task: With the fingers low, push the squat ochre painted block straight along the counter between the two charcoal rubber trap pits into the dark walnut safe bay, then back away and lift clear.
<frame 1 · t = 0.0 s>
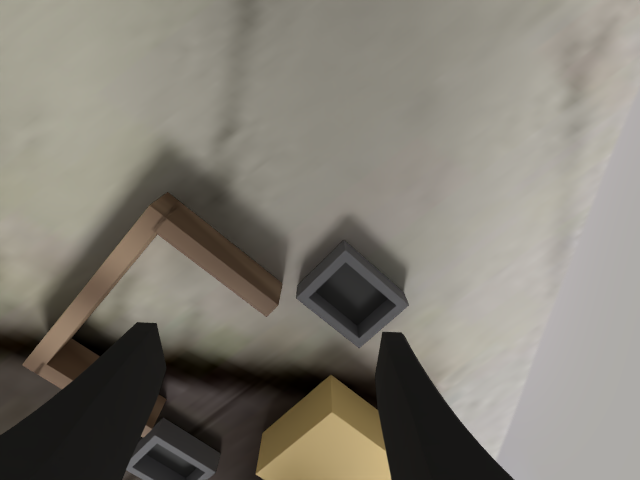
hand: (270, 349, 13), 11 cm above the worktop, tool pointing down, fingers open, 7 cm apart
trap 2: (350, 288, 24), on the worktop
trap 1: (176, 451, 29), on the worktop
safe bay: (167, 315, 25), on the worktop
block: (332, 427, 29), on the worktop
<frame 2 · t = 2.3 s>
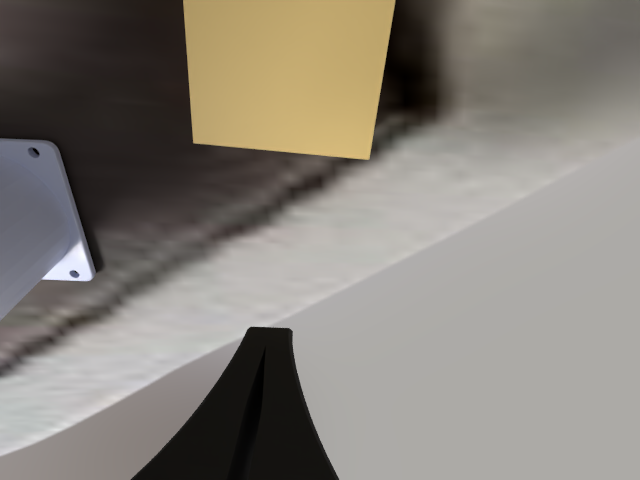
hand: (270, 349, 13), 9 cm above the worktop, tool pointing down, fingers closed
block: (292, 45, 17), on the worktop
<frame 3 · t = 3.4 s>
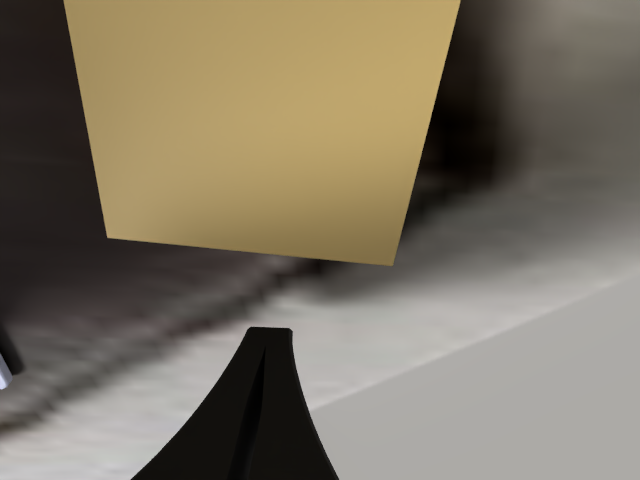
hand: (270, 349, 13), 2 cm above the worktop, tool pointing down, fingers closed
block: (275, 77, 11), on the worktop
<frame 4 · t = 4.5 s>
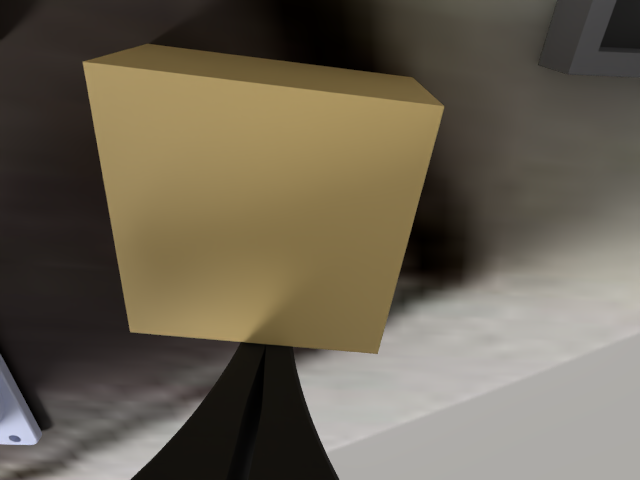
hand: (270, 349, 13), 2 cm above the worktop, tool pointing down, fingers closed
block: (275, 180, 13), on the worktop, touching gripper
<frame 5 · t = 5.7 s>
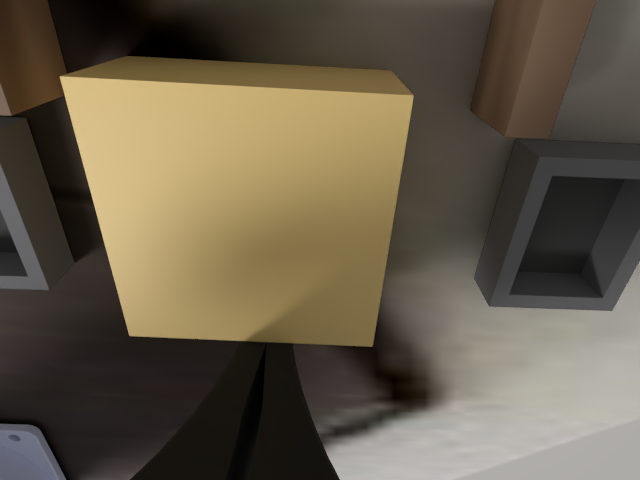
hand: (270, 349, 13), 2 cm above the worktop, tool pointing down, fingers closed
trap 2: (554, 218, 13), on the worktop
block: (264, 180, 13), on the worktop
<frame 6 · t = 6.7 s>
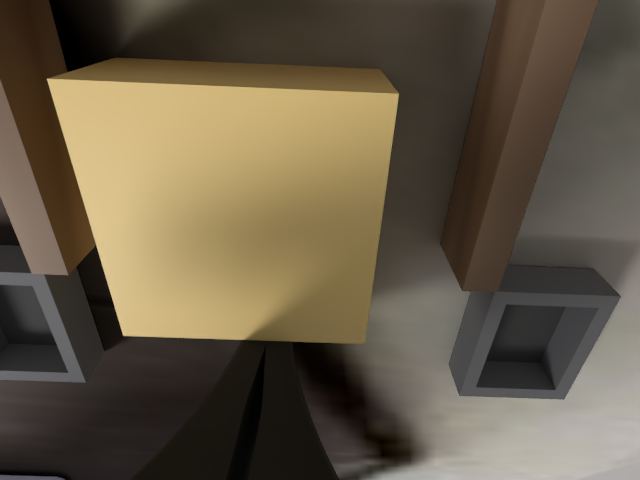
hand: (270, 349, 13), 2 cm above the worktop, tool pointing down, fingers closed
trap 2: (515, 320, 15), on the worktop
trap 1: (34, 302, 15), on the worktop
safe bay: (274, 124, 11), on the worktop
block: (256, 180, 13), on the worktop, touching gripper
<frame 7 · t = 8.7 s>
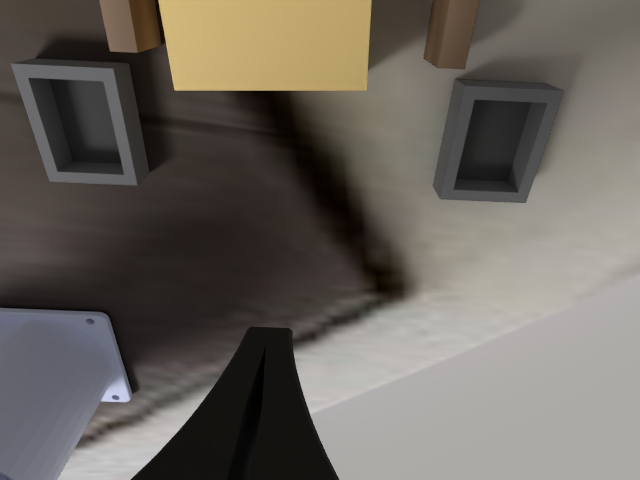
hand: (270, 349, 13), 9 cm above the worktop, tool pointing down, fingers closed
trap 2: (485, 138, 19), on the worktop
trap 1: (96, 119, 18), on the worktop
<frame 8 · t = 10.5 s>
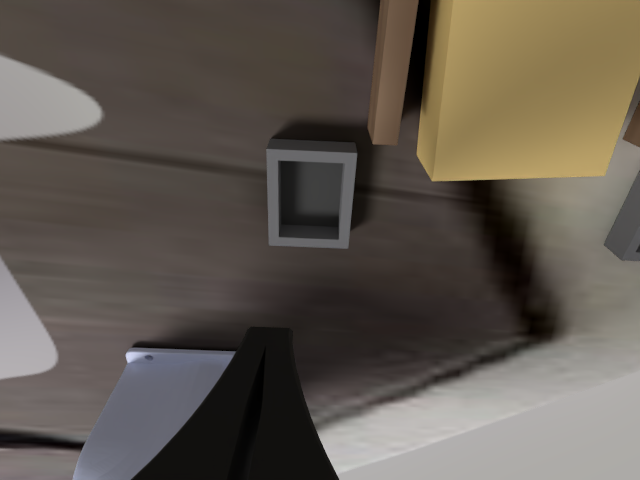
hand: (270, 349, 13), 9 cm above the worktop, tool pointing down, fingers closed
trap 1: (311, 189, 20), on the worktop
safe bay: (531, 44, 17), on the worktop
block: (502, 73, 18), on the worktop
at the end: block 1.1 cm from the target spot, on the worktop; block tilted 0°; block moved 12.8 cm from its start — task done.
